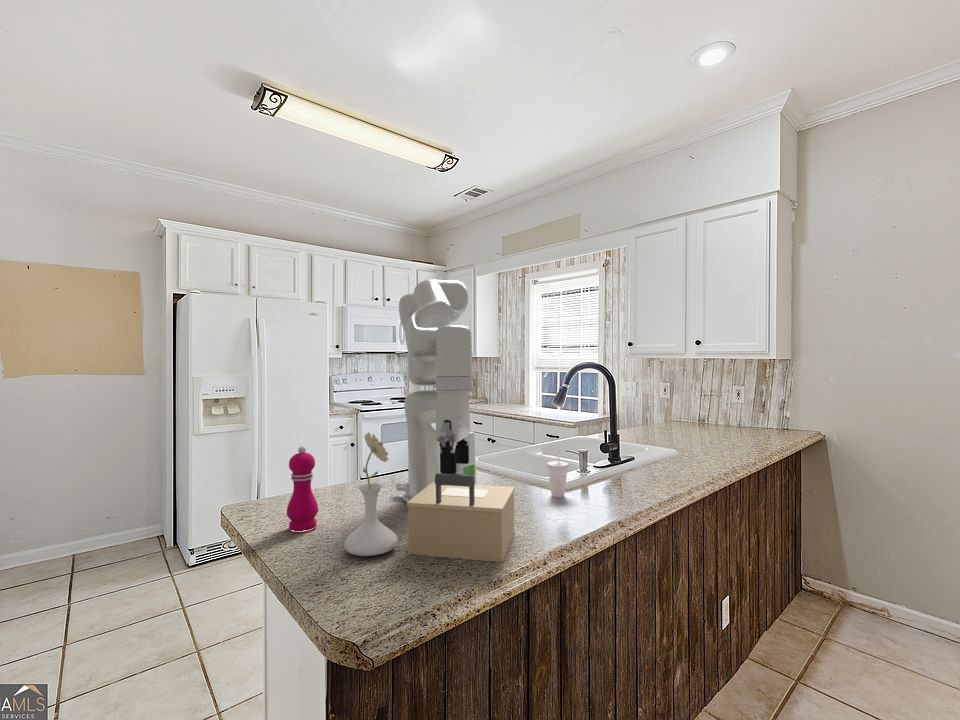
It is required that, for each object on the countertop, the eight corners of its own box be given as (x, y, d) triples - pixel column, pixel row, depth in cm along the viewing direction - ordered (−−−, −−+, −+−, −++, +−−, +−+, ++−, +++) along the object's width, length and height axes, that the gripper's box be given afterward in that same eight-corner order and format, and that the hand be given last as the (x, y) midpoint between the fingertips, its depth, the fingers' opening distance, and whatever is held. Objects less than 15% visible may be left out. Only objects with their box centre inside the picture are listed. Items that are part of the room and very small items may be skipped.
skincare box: (462, 481, 157) (461, 434, 157) (446, 478, 161) (446, 433, 161) (476, 475, 164) (475, 431, 164) (460, 473, 168) (460, 429, 168)
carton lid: (406, 506, 98) (406, 473, 98) (431, 485, 114) (431, 457, 114) (502, 512, 94) (502, 478, 94) (514, 490, 110) (514, 460, 110)
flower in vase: (401, 557, 97) (400, 436, 97) (343, 565, 94) (342, 440, 94) (394, 535, 110) (393, 428, 109) (343, 540, 106) (342, 430, 106)
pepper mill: (288, 536, 110) (287, 450, 110) (285, 526, 116) (284, 445, 116) (320, 530, 113) (319, 447, 113) (316, 521, 119) (315, 442, 119)
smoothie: (573, 495, 139) (572, 448, 139) (561, 500, 135) (560, 451, 135) (555, 491, 144) (554, 445, 144) (542, 496, 139) (542, 449, 139)
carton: (408, 554, 99) (407, 506, 99) (433, 527, 114) (432, 486, 114) (502, 562, 94) (501, 512, 94) (514, 533, 110) (514, 490, 110)
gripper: (448, 383, 107) (450, 459, 106) (422, 387, 90) (423, 477, 90) (481, 383, 105) (482, 460, 105) (460, 387, 88) (461, 478, 88)
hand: (455, 468), depth 97 cm, fingers open, 9 cm apart
